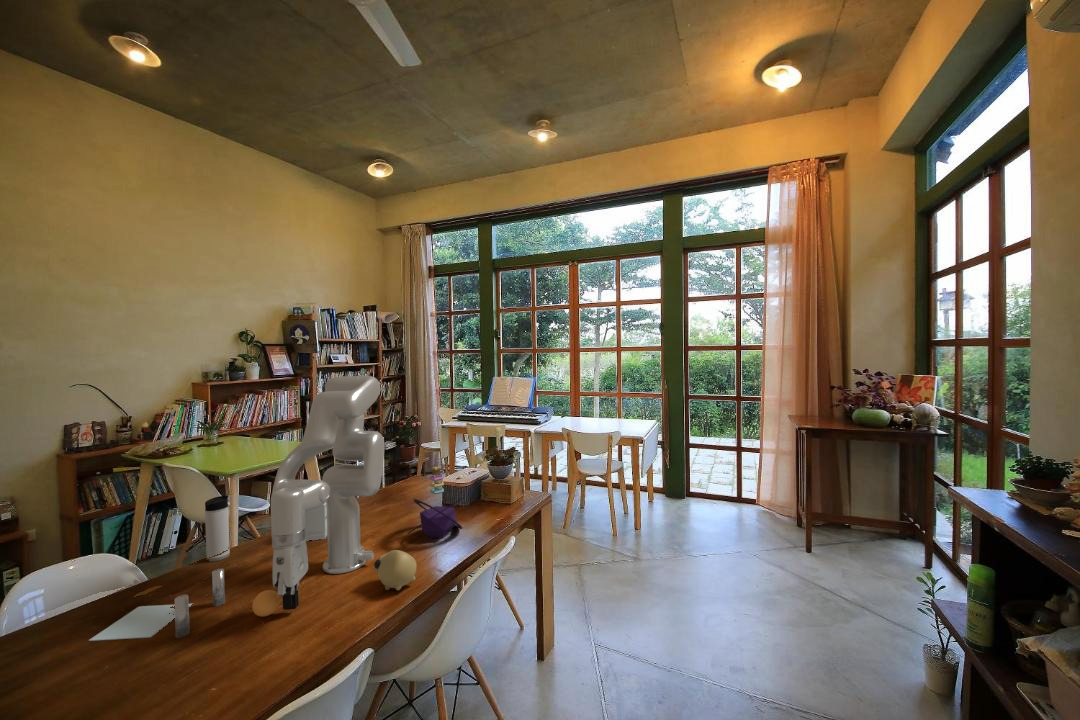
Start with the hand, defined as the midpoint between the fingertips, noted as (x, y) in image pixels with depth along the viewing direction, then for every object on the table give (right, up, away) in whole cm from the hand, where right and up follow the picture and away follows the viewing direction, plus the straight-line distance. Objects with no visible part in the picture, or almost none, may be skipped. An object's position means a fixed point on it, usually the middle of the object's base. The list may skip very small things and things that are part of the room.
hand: (290, 607), depth 114 cm
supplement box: (-18, -2, +49) cm, 52 cm away
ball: (-6, +1, 0) cm, 6 cm away
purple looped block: (+27, -1, +48) cm, 55 cm away
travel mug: (-43, -2, +34) cm, 55 cm away
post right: (-22, -2, +5) cm, 23 cm away
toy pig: (+23, -1, +13) cm, 26 cm away
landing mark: (-36, -2, -2) cm, 36 cm away
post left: (-22, -2, -8) cm, 23 cm away
